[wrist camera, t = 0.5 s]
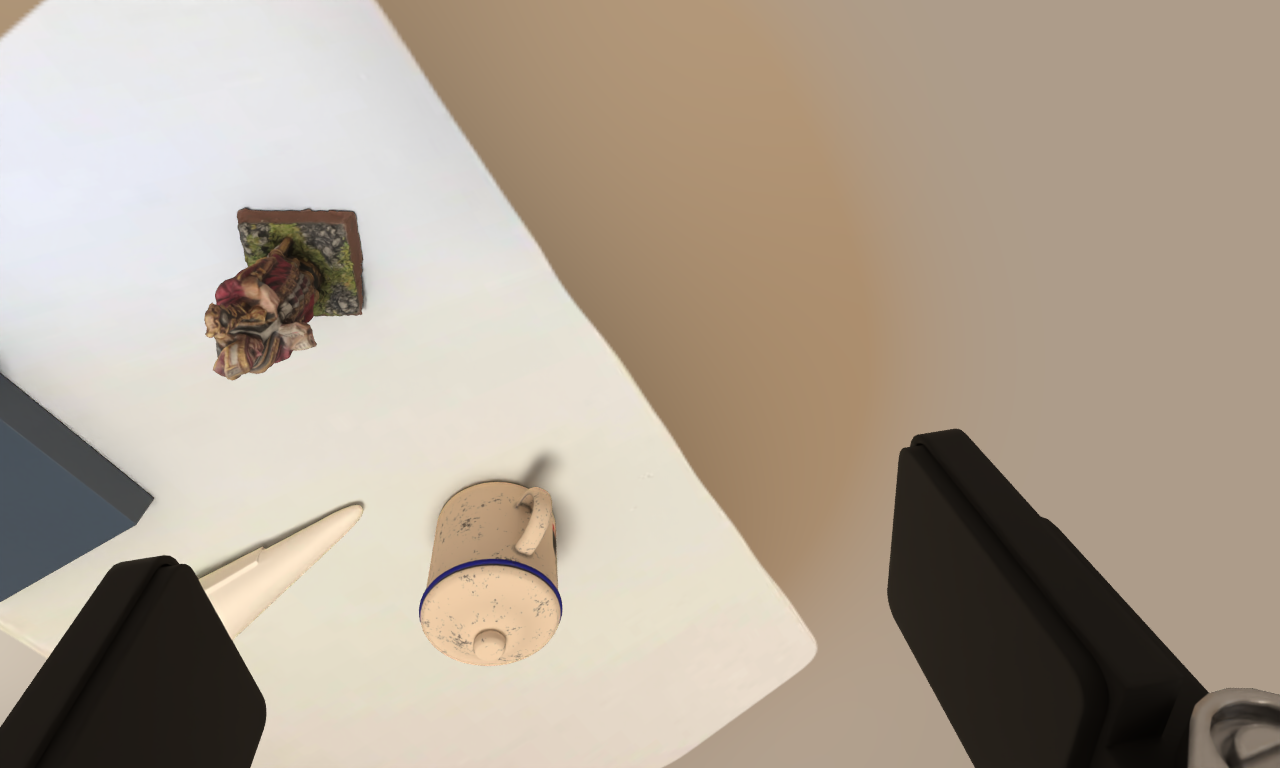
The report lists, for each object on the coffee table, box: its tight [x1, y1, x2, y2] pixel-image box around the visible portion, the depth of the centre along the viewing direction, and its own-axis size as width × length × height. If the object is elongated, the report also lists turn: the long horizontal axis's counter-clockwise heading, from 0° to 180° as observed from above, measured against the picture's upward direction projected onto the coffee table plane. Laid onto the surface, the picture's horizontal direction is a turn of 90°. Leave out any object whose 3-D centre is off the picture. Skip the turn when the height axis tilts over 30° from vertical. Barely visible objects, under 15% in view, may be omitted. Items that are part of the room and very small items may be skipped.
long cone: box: [198, 505, 363, 641], centre depth 54 cm, size 6×6×19 cm
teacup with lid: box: [419, 482, 562, 666], centre depth 50 cm, size 12×9×12 cm
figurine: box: [205, 208, 363, 380], centre depth 39 cm, size 6×6×12 cm
